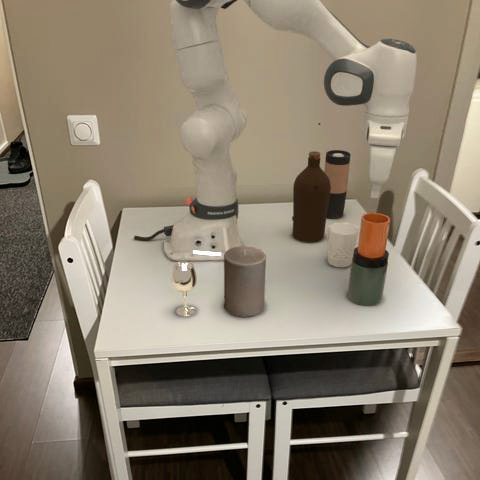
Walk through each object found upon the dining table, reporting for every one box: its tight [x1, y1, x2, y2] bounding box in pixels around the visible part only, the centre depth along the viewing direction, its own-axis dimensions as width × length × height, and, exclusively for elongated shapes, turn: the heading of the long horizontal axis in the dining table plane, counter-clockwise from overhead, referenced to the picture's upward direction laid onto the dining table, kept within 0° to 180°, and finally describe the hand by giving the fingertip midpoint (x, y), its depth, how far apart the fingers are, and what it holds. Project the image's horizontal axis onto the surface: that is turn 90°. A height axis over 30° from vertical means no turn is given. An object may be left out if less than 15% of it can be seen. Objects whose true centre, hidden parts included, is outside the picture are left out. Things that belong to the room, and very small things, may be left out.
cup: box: [357, 212, 391, 258], centre depth 127 cm, size 6×6×8 cm
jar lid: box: [353, 246, 390, 268], centre depth 130 cm, size 8×8×2 cm
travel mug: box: [323, 149, 352, 220], centre depth 174 cm, size 8×8×20 cm
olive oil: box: [291, 150, 331, 244], centre depth 159 cm, size 11×11×25 cm
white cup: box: [327, 222, 360, 268], centre depth 149 cm, size 8×8×10 cm
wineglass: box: [170, 261, 198, 317], centre depth 127 cm, size 6×6×12 cm
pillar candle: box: [223, 245, 267, 318], centre depth 128 cm, size 10×10×15 cm
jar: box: [347, 258, 389, 307], centre depth 133 cm, size 8×8×12 cm
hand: (374, 189), depth 123 cm, fingers open, 8 cm apart
